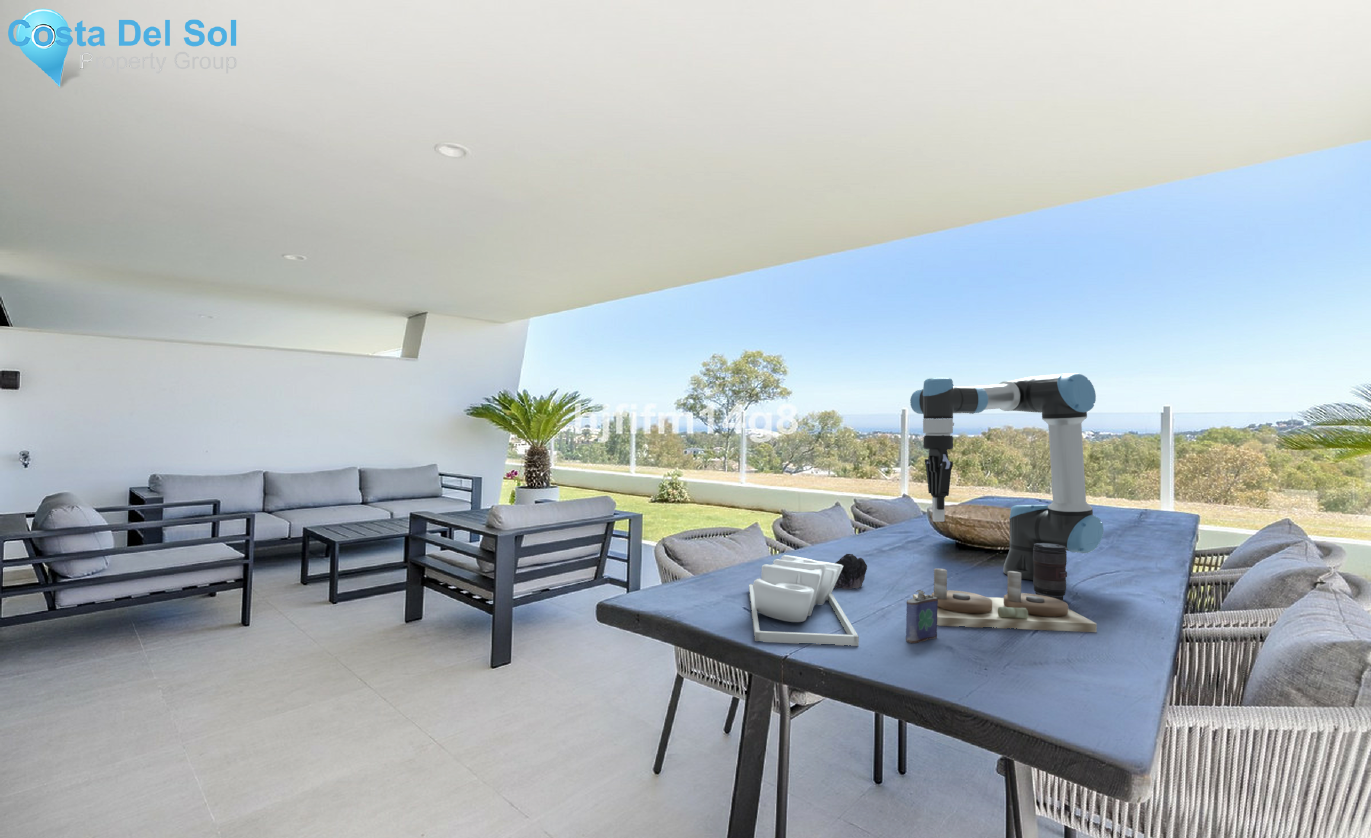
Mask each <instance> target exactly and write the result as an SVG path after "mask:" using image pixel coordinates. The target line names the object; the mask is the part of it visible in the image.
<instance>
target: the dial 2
mask: <svg viewBox="0 0 1371 838" xmlns="http://www.w3.org/2000/svg"><path fill="white" fill-rule="evenodd" d="M1006 589H1007V590H1006V591H1007V593H1006V594H1004V595H1003V598H1004V605H1005V606H1006V607H1013V608H1026V609H1027V610H1028V614H1032V615H1039V616H1064V615H1067V614H1068V609H1069V604H1068V603H1067V602H1065V601H1064V600H1063V601H1062V600H1059V599H1056V598H1052V597H1048V596H1043V595H1037V594H1035V593H1028V592H1027V593H1024V592H1022V579H1021V573H1020V572H1015V571H1008V575H1007V588H1006Z"/></svg>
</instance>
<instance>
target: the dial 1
mask: <svg viewBox="0 0 1371 838" xmlns="http://www.w3.org/2000/svg"><path fill="white" fill-rule="evenodd" d="M947 589H948V570H947V569H945V568H934V569H933V592H932V593H931V595H932V596H934V597H937V598H938V607H940V608H943V609H947V610H951V611H956V612H963V613H987V612H990V611H991V610H992V600H991V599H989V598H987V597H988V596H984V595H981V594H979V593H974V592H969V591H962V590H952V589H951V590H949V589H948V590H947Z"/></svg>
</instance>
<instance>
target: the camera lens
mask: <svg viewBox="0 0 1371 838" xmlns="http://www.w3.org/2000/svg"><path fill="white" fill-rule="evenodd" d="M1067 552H1068V551H1066V548H1065V546H1063V545H1058V544H1049V543H1036V544H1034V548H1033V563H1034V577H1033V580H1032V581H1033V583H1032V584H1033V591H1034V592H1035V593H1034V594H1037V595H1043V596H1048V597H1052V598H1056V599H1059V600H1062V601H1064V596H1066V591H1067V590H1066V589H1067V579H1066V578H1067V577H1068V572H1067V569H1066V567H1067V563H1068V562H1067V561H1068V559H1067V558H1068V556H1067Z"/></svg>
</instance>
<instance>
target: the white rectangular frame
mask: <svg viewBox="0 0 1371 838" xmlns="http://www.w3.org/2000/svg"><path fill="white" fill-rule="evenodd" d="M748 592H750V594H749V601H751V603H750V610H752V611H751V619H753V620H752V628H753V635H754V636H755V637H754V636H753V637H754V642H755V641H763V642H762V643H778V644H780V643H781V644H783V643H784V644H799V643H816V644H815V645H821V644H835V645H834V646H844V645H848V646H849V645H851V646H849V647H859V645H860V644H859V643H860V641H859V640H860V638H859V637H860V636H859V635H858V633H857V632H856V629H855V628H854V627H853V625H852V623H851V621H850V620H849V619H848V617H847V615H846V613H845V612H844V611H843V609H842V607H841V606H840V603H838V601H837V599H836V598H835V595H834V594H833V592H832V593H831V594H830V595H829V599H828V600H827V602H828V601H829V602H828V603H829V605H830V607H831V606H832V607H831V608H833V609H832V610H833V612H834V611H835V612H834V614H835V615H837V616H836V618H837V619H838V621H839V620H840V621H839V623H840V622H841V623H840V625H841V626H842V628H843V627H844V628H843V629H844V631H845V634H842V633H841V634H840V633H839V634H838V633H819V632H817V633H816V632H815V633H814V632H794V631H793V632H792V631H767V630H760V625H759V624H760V623H759V618H758V612H757V610H756V608H755V599H754V583H749V585H748ZM818 643H819V644H818Z"/></svg>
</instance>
